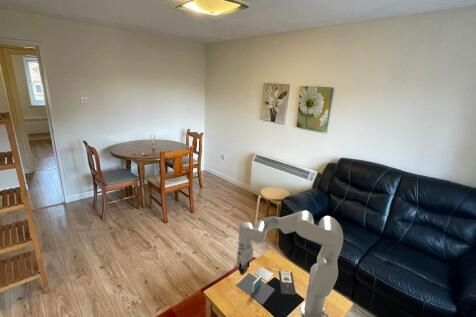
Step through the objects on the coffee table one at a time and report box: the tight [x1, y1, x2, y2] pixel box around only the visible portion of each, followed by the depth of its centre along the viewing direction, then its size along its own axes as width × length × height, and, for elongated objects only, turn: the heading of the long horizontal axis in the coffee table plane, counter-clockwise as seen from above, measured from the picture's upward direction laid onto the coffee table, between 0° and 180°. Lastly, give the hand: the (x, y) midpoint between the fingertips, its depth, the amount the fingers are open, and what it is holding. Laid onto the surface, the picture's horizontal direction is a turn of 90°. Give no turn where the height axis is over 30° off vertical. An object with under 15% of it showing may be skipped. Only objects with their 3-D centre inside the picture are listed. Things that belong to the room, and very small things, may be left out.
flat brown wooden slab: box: [239, 262, 249, 276], centre depth 140 cm, size 2×5×10 cm, turn 142°
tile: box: [252, 275, 262, 293], centre depth 148 cm, size 1×8×7 cm, turn 141°
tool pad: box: [254, 266, 274, 282], centre depth 161 cm, size 10×8×1 cm
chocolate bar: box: [278, 270, 297, 296], centre depth 155 cm, size 9×1×18 cm
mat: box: [235, 272, 275, 305], centre depth 150 cm, size 20×14×1 cm
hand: (243, 268), depth 141 cm, fingers closed on flat brown wooden slab, 5 cm apart
